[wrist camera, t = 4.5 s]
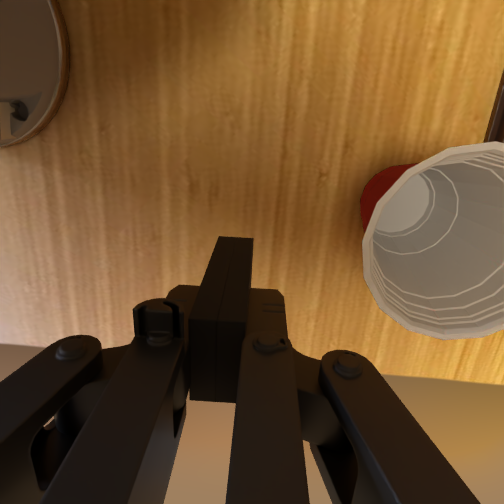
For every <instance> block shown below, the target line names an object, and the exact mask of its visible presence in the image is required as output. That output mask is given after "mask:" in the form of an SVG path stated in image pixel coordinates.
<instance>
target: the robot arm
mask: <svg viewBox="0 0 504 504" xmlns="http://www.w3.org/2000/svg"><path fill="white" fill-rule="evenodd" d="M69 69H70V50H69V41H68V35H67V29H66V25H65V21H64V18H63V15H62V12H61V9H60V6H59V4H58V1H57V0H0V147H3V146H9V145H13V144H17V143H20V142H23V141H25V140H27V139H29V138H31V137H32V136H34V135H35V134H37V133H38V132H39V131H41V130H42V129H43V128H44V127H45V126H46V125H47V124H48V123H49V122H50V121H51V119H52V118H53V117H54V115H55V114H56V112H57V110H58V109H59V107H60V105H61V102H62V100H63V98H64V95H65V91H66V88H67V83H68V78H69ZM253 239H254V238H241V237H224V236H219V237H218V240H217V242H216V245H215V248H214V251H213V253H212V256H211V259H210V261H209V264H208V267H207V269H206V272H205V275H204V277H203V280H202V283H201V285H200V286H193V285H178V286H176V287H175V288H173V289H172V290H171V291H169V293H168V295H167V297H166V298H157V299H151V300H146V301H144V302H142V303H140V304H138V305H137V306H135V307H134V308H133V320H134V332H135V337H134V339H133V340H132V342H131V344H128V345H125V346H120V347H113V348H106V349H102V347H101V343H100V341H99V340H98V339H97V338H95V337H93V336H89V335H76V336H75V335H74V336H69V337H66V338H63V339H60V340H58V341H56V342H55V343H53V344H51V345H50V346H48V347H47V348H46V349H44V350H43V351H42V352H40V353H39V354H38V355H36V356H35V357H33V358H32V359H31V360H29V361H28V362H27V363H25V364H24V365H23V366H21V367H20V368H19V369H17V370H16V371H15V372H13V373H12V374H11V375H9V376H8V377H7V378H5V379H4V380H2V381H1V382H0V504H163V503H164V499H165V495H166V491H167V488H168V484H169V480H170V476H171V472H172V468H173V464H174V460H175V457H176V453H177V449H178V445H179V440H180V437H181V433H182V429H183V425H184V422H185V418H186V398H187V395H188V391H189V392H190V400H195V401H211V402H227V403H236V408H235V417H234V427H233V436H232V446H231V457H230V465H229V475H228V484H227V494H226V503H225V504H310V503H309V494H308V484H307V476H306V467H305V457H304V449H303V440H305V441H308V442H309V443H310V449H311V451H312V454H313V456H314V459H315V461H316V464H317V466H318V469H319V471H320V474H321V476H322V479H323V481H324V484H325V486H326V489H327V491H328V494H329V496H330V499H331V501H332V504H480V502H479V501H478V500H477V498H476V497H475V496H474V495H473V493H472V492H471V491H470V489H469V488H468V487H467V486H466V484H465V483H464V482H463V480H462V479H461V478H460V476H459V475H458V474H457V473H456V471H455V470H454V469H453V467H452V466H451V465H450V464H449V462H448V461H447V460H446V458H445V457H444V456H443V455H442V453H441V452H440V451H439V449H438V448H437V447H436V445H435V444H434V443H433V442H432V440H431V439H430V438H429V436H428V435H427V434H426V433H425V431H424V430H423V429H422V427H421V426H420V425H419V423H418V422H417V421H416V420H415V418H414V417H413V416H412V414H411V413H410V412H409V411H408V409H407V408H406V407H405V405H404V404H403V403H402V402H401V400H400V399H399V398H398V397H397V395H396V394H395V393H394V391H393V390H392V389H391V387H390V386H389V385H388V383H387V382H386V381H385V380H384V378H383V377H382V376H381V374H380V373H379V372H378V371H377V369H376V368H375V367H374V365H373V364H372V363H371V362H370V361H369V360H368V359H367V358H365V357H363V356H361V355H360V354H358V353H355V352H352V351H348V350H334V351H330V352H328V353H326V354H325V355H324V356H323V357H322V360H317V359H314V358H310V357H308V356H305V355H303V354H301V353H299V352H297V351H296V350H295V349H294V348H293V347H292V344H291V342H290V340H289V339H288V333H287V323H286V314H285V303H284V297H283V295H282V294H281V293H280V292H279V291H278V290H275V289H259V288H251V275H252V257H253ZM53 416H54V419H53V420H52V421H51V422H50V423H49V424H48V425H46V426H45V427H43V426H44V425H45V424H46V423H47V422H48V421H49V420H50V419H51V418H52V417H53Z"/></svg>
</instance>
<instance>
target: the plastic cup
mask: <svg viewBox="0 0 504 504" xmlns="http://www.w3.org/2000/svg"><path fill="white" fill-rule="evenodd" d="M360 211H361V217H362V221H363V229H364V233H365V235H364V237H363V240H362V251H363V273H364V280H365V281H366V283H367V285H368V287H369V289H370V291H371V293H372V295H373V297H374V299H375V300H376V302H377V304H378V306H379V308H380V309H381V310H382V311H383V312H385V313H386V314H387V315H389V316H390V317H391V318H393V319H394V320H395V321H396V322H398V323H399V324H400V325H402V326H403V327H404V328H406V329H407V330H409V331H413V332H416V333H420V334H424V335H427V336H431V337H434V338H438V339H442V340H451V339H466V338H481V337H485V336H488V335H490V334H493V333H495V332H498V331H500V330H503V329H504V143H500V142H497V141H495V142H487V143H480V144H472V145H464V146H457V147H449V148H447V149H445V150H443V151H442V152H440V153H438V154H436V155H434V156H432V157H430V158H428V159H426V160H425V161H423V162H421V163H416V164H408V165H399V166H392V167H389V168H387V169H385V170H383V171H382V172H380V173H378V174H376V175H375V176H374V177H373V178H372V179H371V180H370V181H369V183H368V184H367V185H366V186H365V189H364V191H363V194H362V197H361V200H360Z"/></svg>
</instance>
